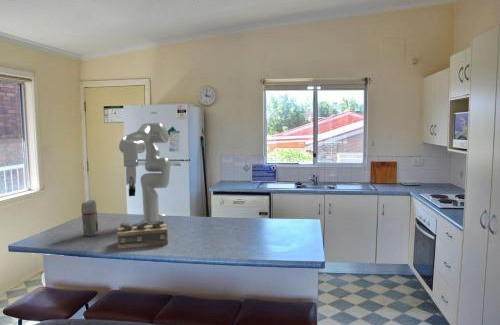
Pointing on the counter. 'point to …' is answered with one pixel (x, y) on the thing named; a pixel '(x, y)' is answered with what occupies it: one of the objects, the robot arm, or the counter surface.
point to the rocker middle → (142, 224)
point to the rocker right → (158, 222)
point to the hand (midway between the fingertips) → (132, 194)
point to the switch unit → (142, 236)
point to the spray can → (89, 218)
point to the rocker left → (126, 225)
